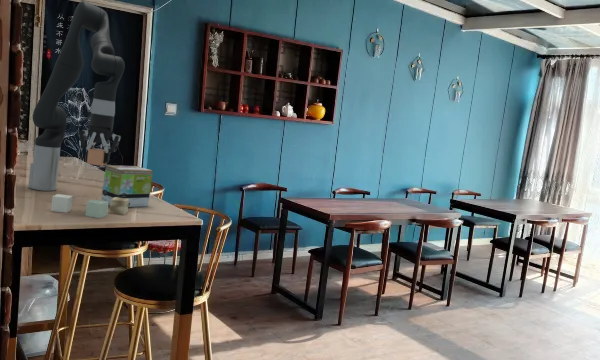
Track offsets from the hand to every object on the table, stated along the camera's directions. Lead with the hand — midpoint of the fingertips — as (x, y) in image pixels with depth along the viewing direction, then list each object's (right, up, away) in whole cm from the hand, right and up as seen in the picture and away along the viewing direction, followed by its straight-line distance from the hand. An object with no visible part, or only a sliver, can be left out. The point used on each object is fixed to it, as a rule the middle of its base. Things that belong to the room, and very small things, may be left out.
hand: (97, 162), depth 179 cm
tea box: (+3, -16, +21) cm, 26 cm away
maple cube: (+5, -18, +6) cm, 20 cm away
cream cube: (-11, -17, -4) cm, 20 cm away
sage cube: (+1, -18, -4) cm, 19 cm away
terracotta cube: (0, -1, 0) cm, 1 cm away
